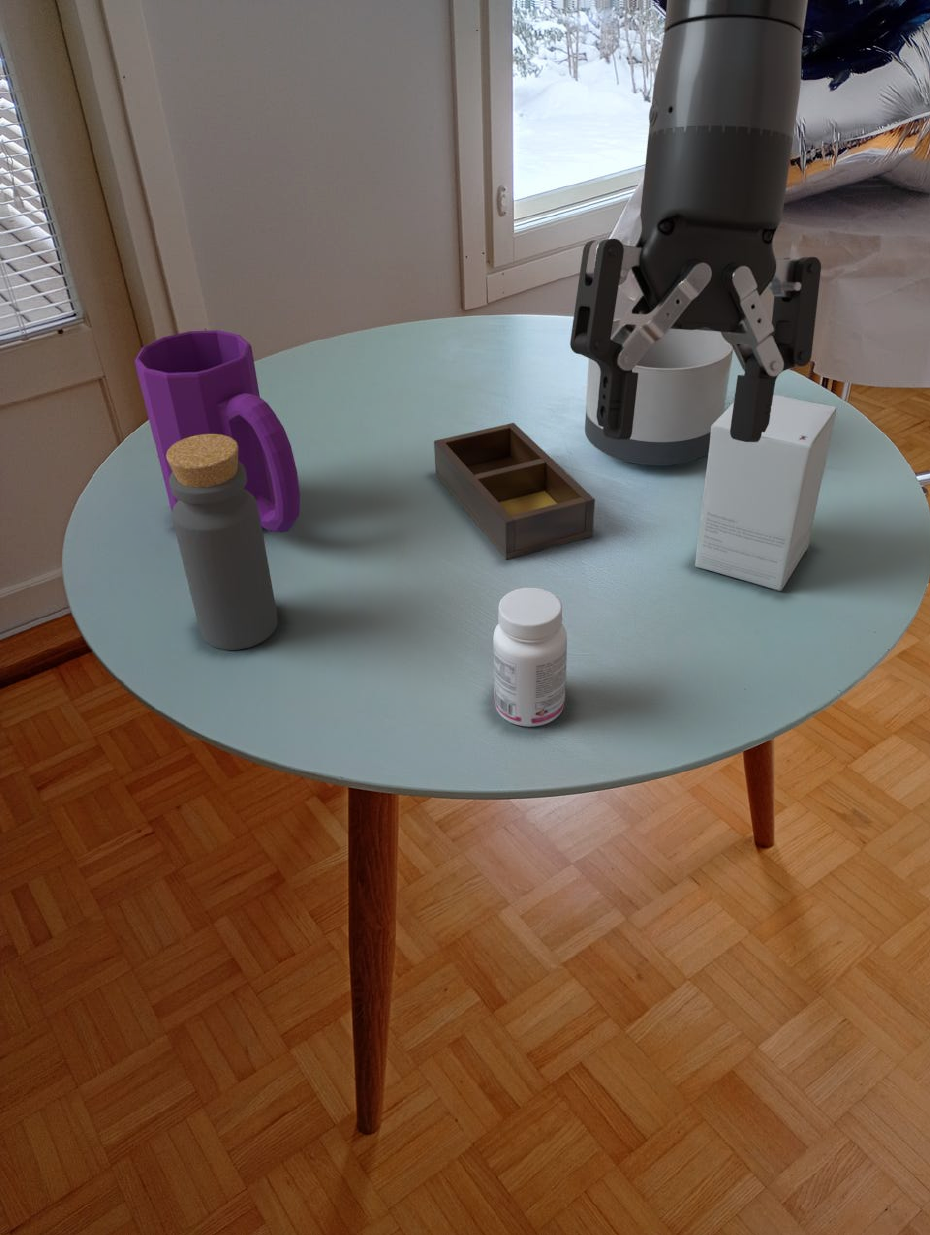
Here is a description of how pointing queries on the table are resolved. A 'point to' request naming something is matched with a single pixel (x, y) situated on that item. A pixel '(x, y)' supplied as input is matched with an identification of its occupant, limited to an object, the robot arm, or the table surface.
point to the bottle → (221, 542)
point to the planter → (669, 399)
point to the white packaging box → (764, 493)
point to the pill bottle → (530, 657)
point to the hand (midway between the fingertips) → (682, 439)
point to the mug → (220, 414)
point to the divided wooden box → (513, 490)
